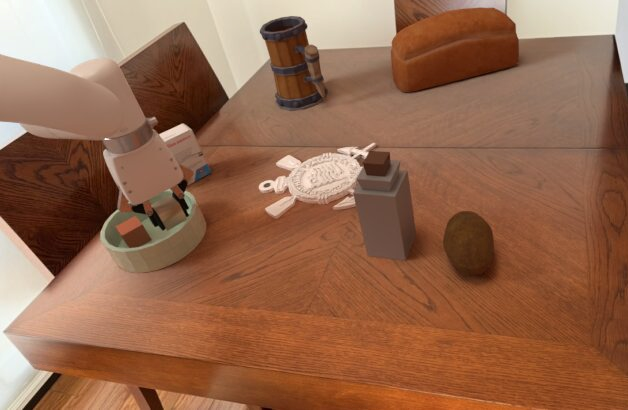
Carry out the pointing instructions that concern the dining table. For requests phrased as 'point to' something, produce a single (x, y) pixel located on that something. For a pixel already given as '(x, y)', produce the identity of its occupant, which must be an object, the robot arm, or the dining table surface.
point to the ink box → (186, 150)
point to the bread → (453, 48)
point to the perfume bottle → (385, 207)
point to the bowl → (155, 238)
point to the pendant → (317, 180)
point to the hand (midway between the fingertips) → (172, 219)
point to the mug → (293, 64)
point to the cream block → (169, 212)
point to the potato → (469, 243)
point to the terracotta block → (133, 232)
